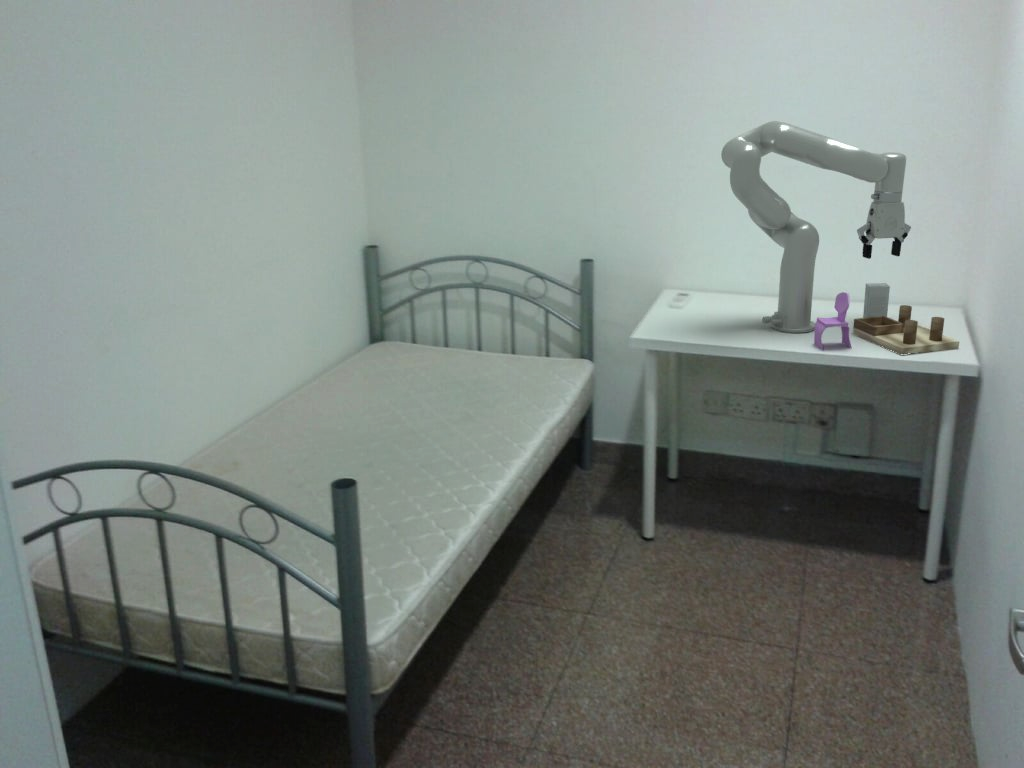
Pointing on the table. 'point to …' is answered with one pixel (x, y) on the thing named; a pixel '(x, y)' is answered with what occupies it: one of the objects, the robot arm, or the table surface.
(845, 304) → the toy chair
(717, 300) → the table surface
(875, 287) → the skincare box
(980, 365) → the table surface
